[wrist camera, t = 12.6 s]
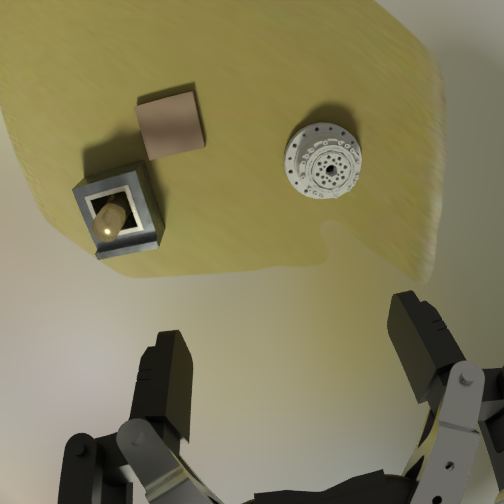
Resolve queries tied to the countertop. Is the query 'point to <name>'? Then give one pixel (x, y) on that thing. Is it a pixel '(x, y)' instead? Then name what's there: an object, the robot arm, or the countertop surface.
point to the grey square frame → (140, 199)
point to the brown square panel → (170, 125)
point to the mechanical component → (322, 161)
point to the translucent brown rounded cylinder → (111, 217)
